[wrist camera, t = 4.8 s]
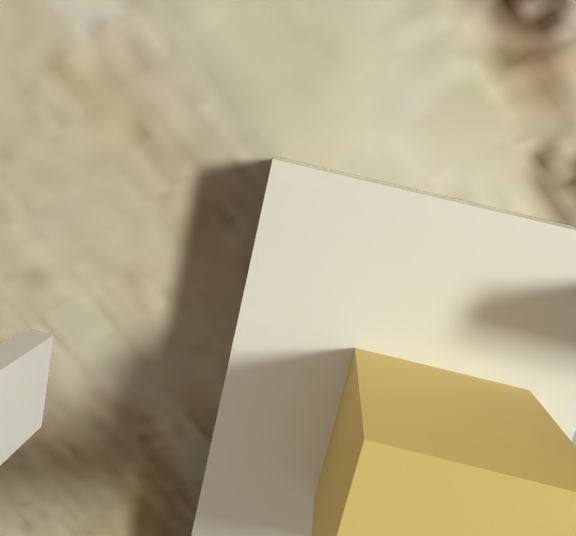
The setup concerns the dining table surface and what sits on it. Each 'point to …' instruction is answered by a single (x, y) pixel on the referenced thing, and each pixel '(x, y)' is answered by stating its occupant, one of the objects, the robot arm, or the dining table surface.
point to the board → (374, 326)
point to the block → (442, 457)
